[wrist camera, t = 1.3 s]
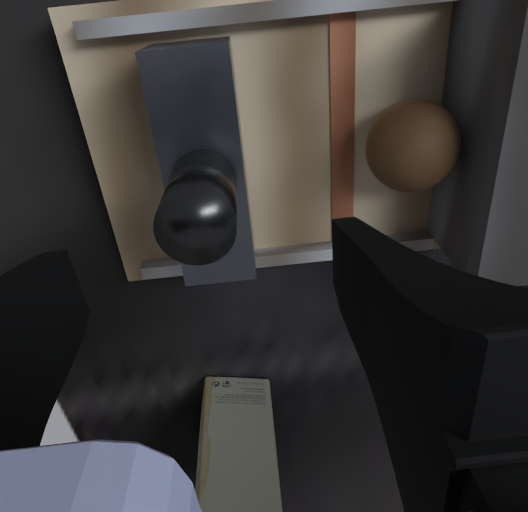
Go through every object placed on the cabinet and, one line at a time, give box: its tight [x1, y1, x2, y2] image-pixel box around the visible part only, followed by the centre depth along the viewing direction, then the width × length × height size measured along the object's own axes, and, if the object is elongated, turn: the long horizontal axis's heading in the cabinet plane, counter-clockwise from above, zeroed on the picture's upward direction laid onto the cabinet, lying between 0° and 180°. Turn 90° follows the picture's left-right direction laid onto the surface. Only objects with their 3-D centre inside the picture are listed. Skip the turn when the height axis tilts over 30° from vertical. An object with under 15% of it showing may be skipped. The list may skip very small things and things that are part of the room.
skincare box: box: [195, 377, 282, 512], centre depth 25 cm, size 6×4×12 cm
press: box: [48, 0, 528, 286], centre depth 18 cm, size 19×12×7 cm, turn 95°
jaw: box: [135, 36, 257, 286], centre depth 16 cm, size 3×9×7 cm, turn 5°
